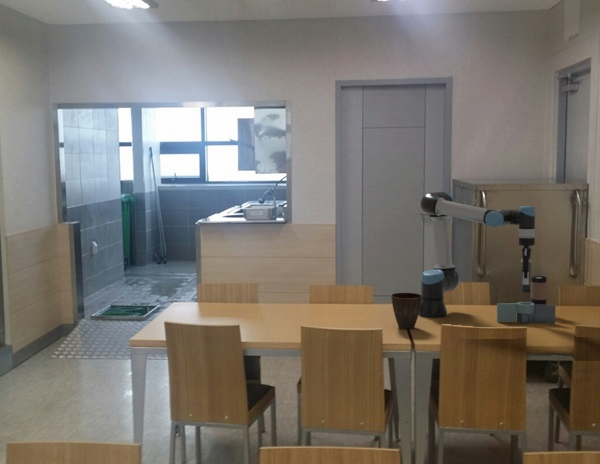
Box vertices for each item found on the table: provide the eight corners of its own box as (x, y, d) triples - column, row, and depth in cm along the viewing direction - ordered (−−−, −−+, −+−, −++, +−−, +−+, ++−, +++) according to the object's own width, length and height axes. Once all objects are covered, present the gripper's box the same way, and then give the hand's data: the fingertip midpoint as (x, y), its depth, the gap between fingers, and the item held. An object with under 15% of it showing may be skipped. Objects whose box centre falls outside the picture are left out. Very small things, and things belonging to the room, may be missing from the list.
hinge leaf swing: (531, 319, 343) (531, 301, 342) (535, 323, 335) (536, 305, 334) (495, 319, 344) (495, 302, 343) (499, 323, 336) (499, 305, 335)
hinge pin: (520, 292, 336) (520, 260, 335) (521, 290, 341) (521, 259, 340) (531, 292, 334) (531, 260, 333) (531, 291, 339) (532, 259, 338)
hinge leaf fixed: (516, 322, 337) (516, 304, 336) (517, 319, 345) (518, 301, 344) (554, 325, 330) (555, 307, 329) (555, 322, 338) (555, 303, 337)
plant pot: (418, 323, 339) (418, 292, 337) (424, 330, 324) (425, 298, 323) (389, 324, 339) (389, 292, 337) (393, 331, 324) (393, 298, 322)
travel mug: (547, 316, 350) (547, 278, 348) (531, 316, 352) (532, 278, 350) (544, 313, 358) (545, 276, 356) (529, 312, 359) (530, 275, 357)
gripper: (533, 239, 326) (532, 287, 328) (535, 235, 342) (535, 281, 344) (517, 238, 329) (516, 286, 331) (520, 235, 344) (519, 280, 347)
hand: (526, 283), depth 337 cm, fingers closed on hinge pin, 4 cm apart
